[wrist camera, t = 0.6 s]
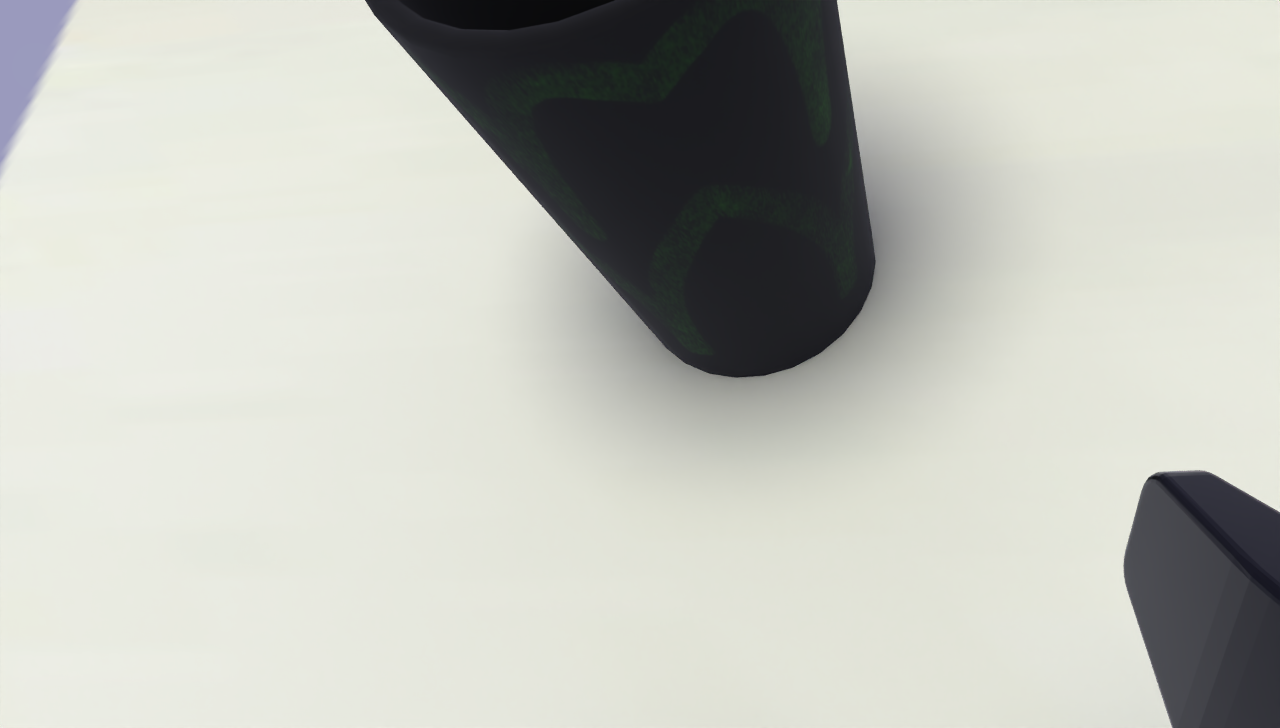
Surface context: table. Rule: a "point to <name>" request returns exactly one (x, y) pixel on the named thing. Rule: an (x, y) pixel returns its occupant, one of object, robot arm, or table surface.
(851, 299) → the cup
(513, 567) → the table surface
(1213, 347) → the table surface
